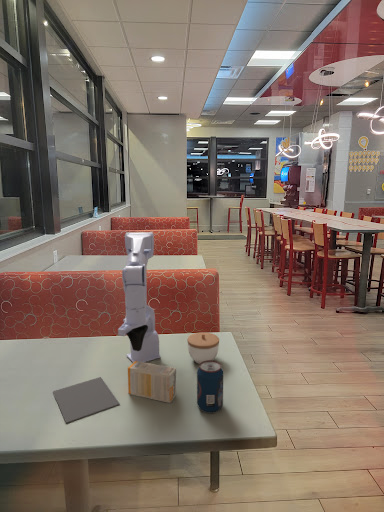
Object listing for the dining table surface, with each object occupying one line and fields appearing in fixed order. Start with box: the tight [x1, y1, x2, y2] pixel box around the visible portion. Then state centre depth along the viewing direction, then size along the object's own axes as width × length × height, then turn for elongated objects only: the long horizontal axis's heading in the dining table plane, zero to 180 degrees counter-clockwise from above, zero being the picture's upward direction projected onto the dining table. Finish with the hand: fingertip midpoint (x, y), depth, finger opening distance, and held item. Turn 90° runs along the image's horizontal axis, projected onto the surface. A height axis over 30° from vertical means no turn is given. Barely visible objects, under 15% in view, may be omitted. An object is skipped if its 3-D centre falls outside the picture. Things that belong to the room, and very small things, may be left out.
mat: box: [52, 376, 121, 424], centre depth 95 cm, size 14×16×1 cm
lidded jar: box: [186, 331, 220, 365], centre depth 116 cm, size 11×11×9 cm
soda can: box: [196, 359, 224, 414], centre depth 91 cm, size 7×7×12 cm
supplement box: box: [127, 361, 177, 404], centre depth 97 cm, size 8×5×13 cm
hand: (137, 349), depth 102 cm, fingers closed
